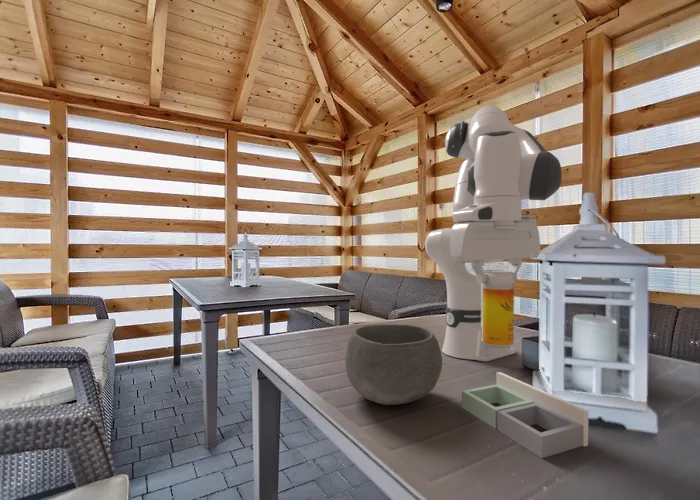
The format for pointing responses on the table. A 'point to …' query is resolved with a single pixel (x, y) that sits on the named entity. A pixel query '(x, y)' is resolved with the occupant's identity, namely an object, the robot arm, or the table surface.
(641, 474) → the table surface
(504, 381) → the holder board
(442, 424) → the table surface
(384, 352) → the bowl
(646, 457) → the table surface
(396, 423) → the table surface
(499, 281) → the beer can
